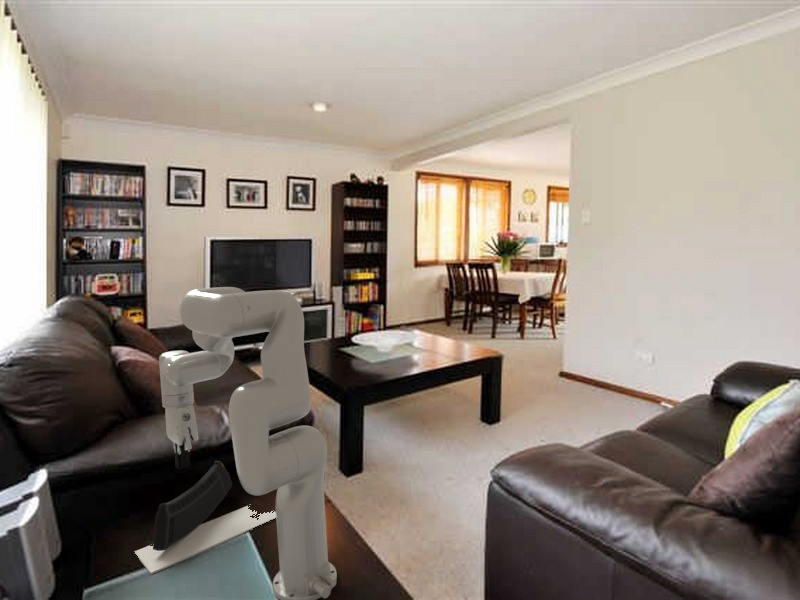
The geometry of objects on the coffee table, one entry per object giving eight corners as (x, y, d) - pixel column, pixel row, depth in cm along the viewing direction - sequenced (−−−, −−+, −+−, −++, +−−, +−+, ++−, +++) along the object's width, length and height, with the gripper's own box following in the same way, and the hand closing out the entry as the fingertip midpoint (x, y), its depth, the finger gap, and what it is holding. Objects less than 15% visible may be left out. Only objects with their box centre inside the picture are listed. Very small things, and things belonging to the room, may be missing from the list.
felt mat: (280, 516, 124) (280, 515, 124) (151, 574, 103) (150, 572, 103) (258, 502, 133) (258, 501, 133) (134, 553, 111) (134, 551, 111)
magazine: (155, 521, 105) (220, 438, 133) (141, 521, 106) (209, 438, 134) (176, 581, 111) (234, 488, 139) (163, 580, 111) (223, 488, 139)
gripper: (204, 400, 124) (209, 470, 125) (182, 390, 134) (186, 455, 136) (173, 407, 118) (179, 480, 120) (153, 396, 129) (158, 463, 131)
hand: (183, 466), depth 128 cm, fingers closed
